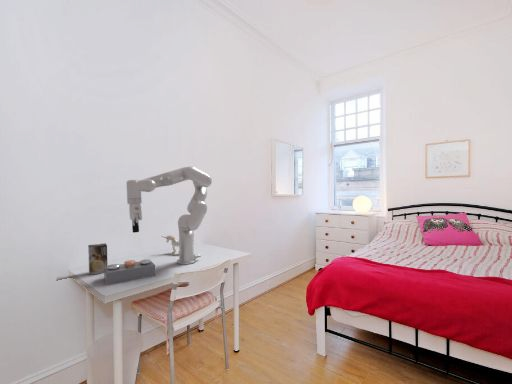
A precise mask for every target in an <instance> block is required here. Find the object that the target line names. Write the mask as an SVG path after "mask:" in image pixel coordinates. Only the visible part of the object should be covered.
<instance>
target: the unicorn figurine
mask: <svg viewBox="0 0 512 384" xmlns="http://www.w3.org/2000/svg"><path fill="white" fill-rule="evenodd" d="M161 237H162V238H165V239H166V243H167V244H168V243H169V241H171V245H172V250H173V251H172V254H175V253H176V252H177V251H176V249H175V247H178V248H179V240H177V239H176V237H174V236H173V235H171V234H170V235H166V236H163V235H162V236H161Z"/></svg>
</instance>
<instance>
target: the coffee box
mask: <svg viewBox="0 0 512 384" xmlns="http://www.w3.org/2000/svg"><path fill="white" fill-rule="evenodd" d="M87 249H88V274H89V276H90V275H97V274H102V273H104V267H107V266H109V265H108V245H107V243H106V242H105V243H95V244H88V246H87Z"/></svg>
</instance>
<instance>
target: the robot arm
mask: <svg viewBox="0 0 512 384" xmlns="http://www.w3.org/2000/svg"><path fill="white" fill-rule="evenodd" d="M188 180H189V181H192V184H193V187H194V193H193V195H192V197H191V198H190V201H189V202H188V204H187V207H186V209H187V212H188V213H189V214H182V215H181V216H179V218H178V220H177V227H178V241H179V246H178V259H177V260H176V263H177V264H178V265H191V264H194V263H196V262H197V258H201V257H202V255H201V254H196V253H195V234H194V231H196V230H197V229H199V227H200V225H201V224H202V222H203V220H204V218H205V216H206V214H207V211H208V206H207V203H206V202H205V201H206V199H207V195H208V190H207V189H208V187H210V186H211V184H212V178H211V176H210V175H208V174H207V173H205V172H204V171H202V170H200V169H198V168H197V167H193V166H187V167H186V166H184V167H180V168H177V169H174V170H170V171H167V172H164V173H160V174H157V175H154V176H150V177H146V178H144V179H129V180H127V181H126V201H127V202H126V203H127V205H128V207H129V208H128V209H129V210H128V211H129V213H128V214H129V220H130V221H131V224H132V225H131V226H132V228H131V229H132V233H139V232H140V225H139V224H140V221H142V220H143V215H142V214H143V213H142V205H141V204H142V202H143V201H142V193H143V192H145V193H151V192H153V191H155V190H156V189H157V188H162V187H169V186H173V185H176V184H179V183H182V182H185V181H188Z"/></svg>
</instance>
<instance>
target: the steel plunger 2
mask: <svg viewBox="0 0 512 384" xmlns="http://www.w3.org/2000/svg"><path fill="white" fill-rule="evenodd" d="M151 261H152V260H151V259H146V258H145V259H142V260H139V262H140V264H141V265H147V264H150V263H151Z"/></svg>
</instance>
